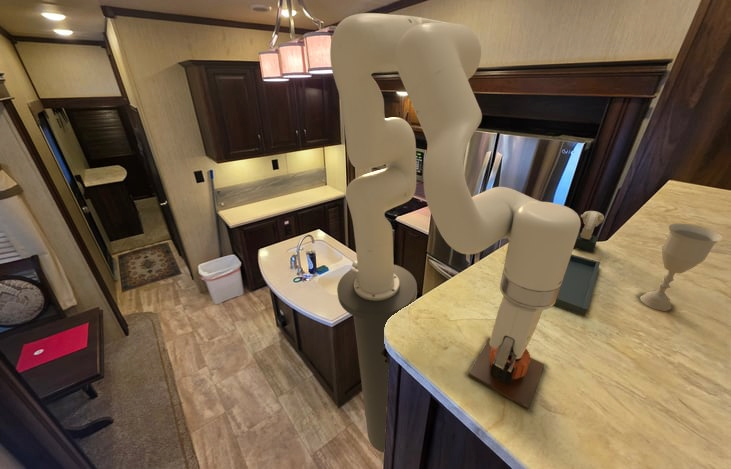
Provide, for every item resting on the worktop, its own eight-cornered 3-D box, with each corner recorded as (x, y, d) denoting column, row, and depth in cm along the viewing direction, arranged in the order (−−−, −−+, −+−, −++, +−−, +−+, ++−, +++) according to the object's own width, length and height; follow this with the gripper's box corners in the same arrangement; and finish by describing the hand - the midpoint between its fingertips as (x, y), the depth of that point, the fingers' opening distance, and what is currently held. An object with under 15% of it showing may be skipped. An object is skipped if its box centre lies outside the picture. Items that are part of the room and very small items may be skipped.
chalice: (626, 296, 66) (660, 227, 58) (646, 288, 68) (682, 220, 59) (664, 317, 60) (708, 244, 52) (685, 308, 62) (731, 236, 53)
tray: (508, 288, 71) (510, 282, 70) (532, 250, 85) (534, 244, 84) (584, 316, 62) (587, 309, 61) (597, 268, 76) (600, 261, 75)
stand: (467, 374, 52) (471, 350, 49) (488, 339, 59) (493, 316, 55) (527, 409, 46) (537, 385, 43) (543, 366, 53) (552, 341, 49)
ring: (484, 366, 51) (486, 354, 50) (496, 344, 55) (499, 333, 54) (520, 385, 48) (524, 374, 46) (530, 360, 52) (534, 349, 50)
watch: (595, 243, 86) (608, 209, 81) (591, 255, 81) (604, 220, 76) (573, 237, 89) (584, 205, 84) (568, 249, 84) (579, 215, 79)
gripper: (519, 250, 50) (503, 323, 59) (480, 307, 39) (467, 386, 48) (569, 265, 46) (544, 341, 55) (542, 333, 35) (515, 415, 43)
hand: (508, 361), depth 51 cm, fingers open, 7 cm apart
